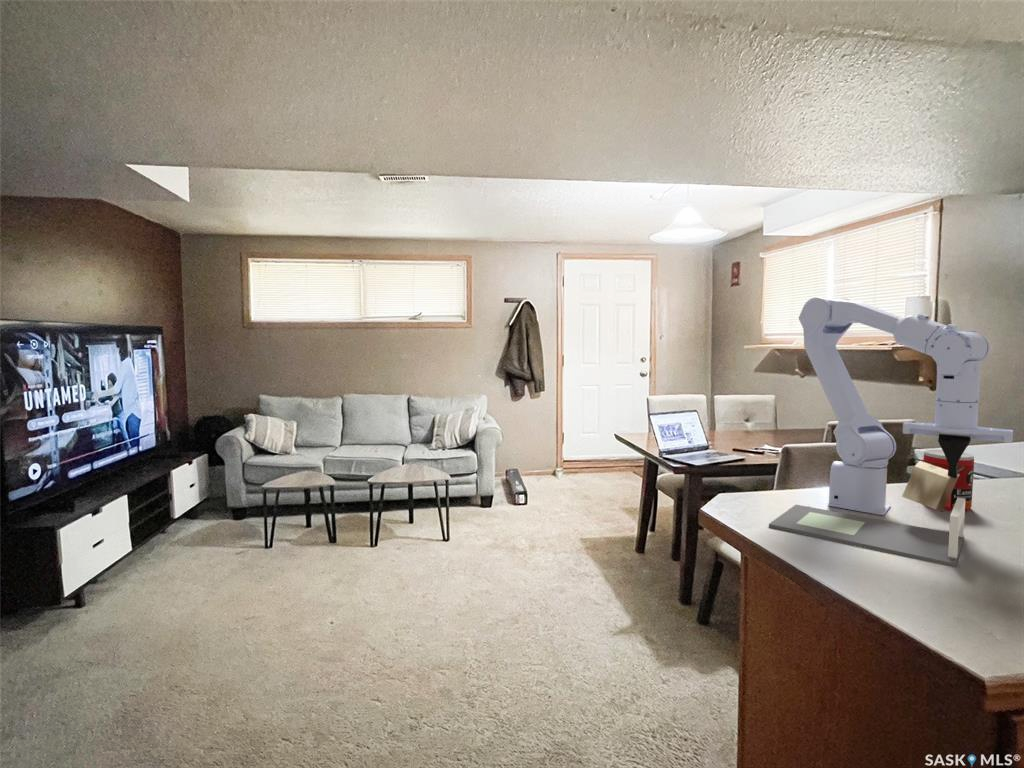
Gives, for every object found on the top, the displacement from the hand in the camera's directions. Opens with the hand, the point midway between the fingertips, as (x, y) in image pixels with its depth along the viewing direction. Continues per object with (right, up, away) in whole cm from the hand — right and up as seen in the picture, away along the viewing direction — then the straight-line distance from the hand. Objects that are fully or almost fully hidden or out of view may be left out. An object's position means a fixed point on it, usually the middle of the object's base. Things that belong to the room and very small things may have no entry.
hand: (952, 478), depth 93 cm
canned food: (+11, -9, +15) cm, 20 cm away
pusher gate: (-6, -10, -8) cm, 15 cm away
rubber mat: (-16, -10, 0) cm, 18 cm away
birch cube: (0, -3, 0) cm, 3 cm away
